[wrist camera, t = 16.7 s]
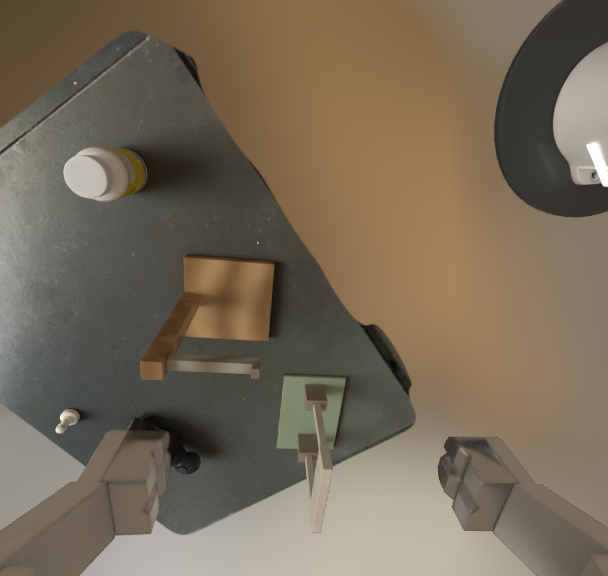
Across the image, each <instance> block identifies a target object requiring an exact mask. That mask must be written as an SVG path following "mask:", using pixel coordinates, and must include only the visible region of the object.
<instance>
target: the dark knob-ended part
mask: <svg viewBox="0 0 608 576" xmlns="http://www.w3.org/2000/svg"><path fill="white" fill-rule="evenodd" d="M156 418H157V417H154V418H152V419H150V420H149V421H147V422H144V421H142V420H140V418H134V419H133V421H132V422H131V423H130V426H129V427H128V428H127V430H145V431H167V432H169V437H170V443H169V446H168V449H167V451H168V452H169V453H170V454H171V467H172V468H173V469H175V470H176V471H177V472H179V473H182V474H191V473H193V472H195V471H196V470H198V469H199V466H200V464H201V460H200V456H199V455H198V454H197V453H196V452H186V449H184V447H183V445H182V443H181V441H180V437H179V433H178V432H174V431H169V430H163V429H159V428H158V427H156V424H155V421H156Z"/></svg>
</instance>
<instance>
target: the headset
mask: <svg viewBox="0 0 608 576" xmlns="http://www.w3.org/2000/svg"><path fill="white" fill-rule="evenodd" d="M303 395H304V404H305V411H313V412H314V419H315V425H316V432H317V436H316V435H314V434H298V437H297V453H298V462H306V472H307V482H308V492H309V502H310V507H309V509H310V520H311V530H312V534H314V533H321V529H322V524H323V519H324V514H325V508H326V503H327V498H328V493H329V487H330V482H331V477H332V472H333V467H332V462H331V457H330V451H329V446H328V445H327V439H326V434H325V428H324V423H323V417H322V412H326V409H327V403H328V400H327V396H326V391H325V386H324V385H320V384H305V385H304V393H303ZM321 411H322V412H321ZM317 439H318V443H317ZM318 445H319V450H318ZM313 462H317V464H316V470H315V476H314V468H313Z"/></svg>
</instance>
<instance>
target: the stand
mask: <svg viewBox="0 0 608 576" xmlns="http://www.w3.org/2000/svg"><path fill="white" fill-rule="evenodd" d="M274 266H275V262H268V261H256V260H244V259H232V258H219V257H207V256H195V255H185V257H184V294H183V295H182V297H181V299H180V300H179V302H178V303H177V305H176V306H175V308H174V309H173V311H172V313H171V314H170V316H169V317H168V319H167V320H166V322H165V323H164V325H163V327H162V328H161V330H160V331H159V333H158V334H157V336H156V337H155V339H154V341H153V342H152V344H151V345H150V347H149V348H148V350H147V351H146V353H145V355H144V356H143V358H142V359H141V361H140V367H141V379H149V380H163V379H164V377H165V375H166V373H167V371H168V370H172V371H195V372H218V373H241V374H251V379H259V376H260V361H261V358H251V357H230V356H210V355H190V354H176V352H177V350H178V348H179V346H180V344H181V342H182V340H183V338H184V336H185V337H201V338H219V339H237V340H256V341H268V339H269V327H270V315H271V303H272V291H273V279H274Z"/></svg>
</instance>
